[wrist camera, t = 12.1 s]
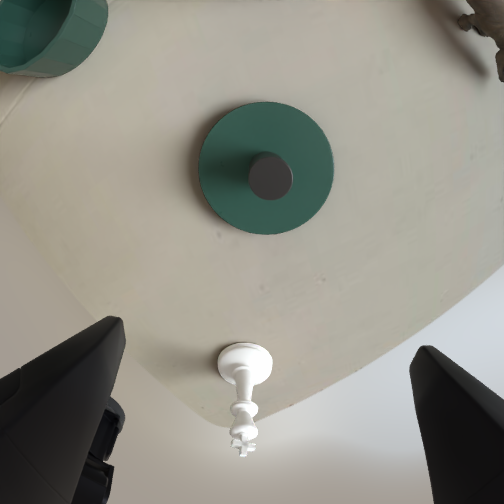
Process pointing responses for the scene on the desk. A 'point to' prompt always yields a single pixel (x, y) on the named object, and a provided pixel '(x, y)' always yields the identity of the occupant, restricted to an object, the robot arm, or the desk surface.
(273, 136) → the pot lid
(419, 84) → the desk surface
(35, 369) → the robot arm
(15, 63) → the pot
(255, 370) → the chess piece
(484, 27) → the rhino figurine
